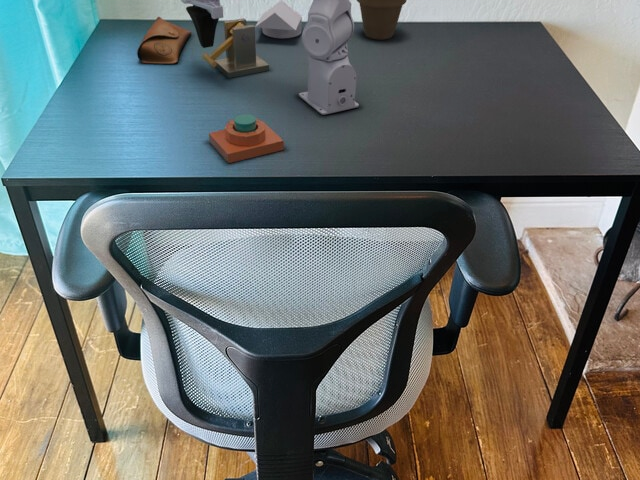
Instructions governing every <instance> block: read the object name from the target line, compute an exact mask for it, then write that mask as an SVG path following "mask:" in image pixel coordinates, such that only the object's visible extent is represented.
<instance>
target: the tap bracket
mask: <svg viewBox="0 0 640 480" xmlns="http://www.w3.org/2000/svg"><path fill="white" fill-rule="evenodd" d="M239 22H240V23H242V24H243V25H244V26H241V27H235V26H236V25H237V24H238V23H239ZM255 26H256V25H254V24H248V25H247V19H246V18H244V17H243V18H238V19H231V20H225V21H224V20H223V27H224V28H223V29H224V42H225V41H226V40H227V39H228V38H229V37H230V36H232V35H231V33H230V32H229V31H230V30H231V29H232V33H233V44H232V45H231V46H230V47H229V48H228V49H227V50H226V51H225V55H226V56H225V57H224V58H219V59H218V58H217V59H215V60H214V61H215V62H216V63H217V65H216V66H215V67H216V69H217V70H219V71H220V73H222V74H223V75H224V77H226V78H228V79H233V78H237V77H243V76H247V75H252V74H257V73H258V74H259V73H263V72H269V71H270V64H269V63H267V62H266V61H265V60H264V59H263V58H261V57H260V56H259V55H258V54H257V49H256V48H257V47H256V44H257V43H256V27H255ZM233 27H235V28H233Z"/></svg>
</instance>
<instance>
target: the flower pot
mask: <svg viewBox="0 0 640 480" xmlns="http://www.w3.org/2000/svg"><path fill="white" fill-rule="evenodd" d="M356 2H357V3H359V8H360V14H361V21H362V26H363V31H364V34H365V36H366V37H367V38H368V39H373V40H380V41H381V40H382V41H383V40H388V39H391V38H392V37H394V34H395V31H396V28H397V25H398V22H399V20H400V19H399V18H400V16H401V12H402V8H403V6H404V5H405V4H406V3H407V0H356Z"/></svg>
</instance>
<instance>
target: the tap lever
mask: <svg viewBox="0 0 640 480" xmlns="http://www.w3.org/2000/svg"><path fill="white" fill-rule="evenodd" d="M241 26H244V25H243V24H242V23H240V22H239V23H238V24H237V25H236V26H235V27H241ZM235 27H233V28H235ZM229 32H230V33H231V35H232V36H230V37H229V38H228V39H227V40H226V41H225V40H224V42H222V43H221V44H220V45H218V47H217V48H216V49H214V50H213V51H212V52H211V53H210V54H208V53H206V52H203V53H202V55H201V57H202V59H204V61H206V62H207V63H208V64H209V65H210V66H211V67H212V68H215V67H216V65H217V63H216V62H215V61H214V60H217V59H218V58H219V57H220V56H221V55H222V54H224V53H225V52H226V50H227V49H228V48H229V47H230V46H231V45H232V44H233V33H232V29H231V30H230V31H229Z"/></svg>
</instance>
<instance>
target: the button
mask: <svg viewBox="0 0 640 480" xmlns="http://www.w3.org/2000/svg"><path fill="white" fill-rule="evenodd" d="M256 119H257V118H256V116H254V115H252V114H245V113H244V114H238V115H236V116H235V117H234V118H233V120H234V129H235V131H237V132H240V133H249V132H253V131H255V130H256Z"/></svg>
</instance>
